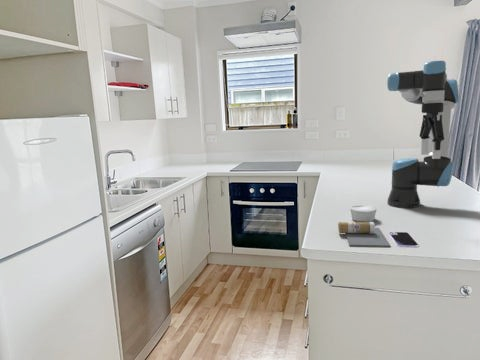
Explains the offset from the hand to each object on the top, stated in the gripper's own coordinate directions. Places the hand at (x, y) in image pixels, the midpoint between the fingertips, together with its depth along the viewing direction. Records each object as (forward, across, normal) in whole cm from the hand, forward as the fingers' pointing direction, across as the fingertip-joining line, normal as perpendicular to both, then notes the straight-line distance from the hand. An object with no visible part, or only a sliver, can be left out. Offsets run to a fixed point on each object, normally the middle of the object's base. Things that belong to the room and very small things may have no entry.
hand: (429, 156), depth 142 cm
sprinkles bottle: (+26, +13, -37) cm, 47 cm away
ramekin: (+29, -8, -24) cm, 38 cm away
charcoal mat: (+29, +16, -27) cm, 43 cm away
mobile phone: (+29, +18, -14) cm, 37 cm away
